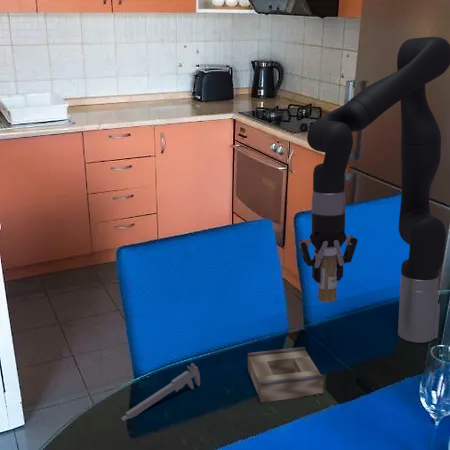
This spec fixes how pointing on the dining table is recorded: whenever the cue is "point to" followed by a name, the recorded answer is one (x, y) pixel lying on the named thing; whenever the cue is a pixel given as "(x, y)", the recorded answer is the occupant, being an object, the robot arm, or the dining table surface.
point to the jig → (284, 374)
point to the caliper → (167, 391)
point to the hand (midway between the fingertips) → (327, 280)
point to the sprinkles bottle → (328, 276)
